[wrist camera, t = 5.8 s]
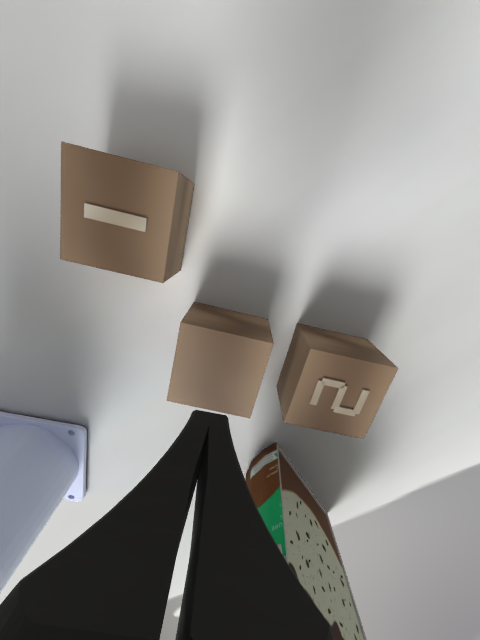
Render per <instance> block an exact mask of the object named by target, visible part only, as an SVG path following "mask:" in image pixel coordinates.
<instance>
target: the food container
mask: <svg viewBox="0 0 480 640" xmlns="http://www.w3.org/2000/svg"><path fill="white" fill-rule="evenodd" d="M246 484H247V486H248V489H249V491H250V493H251V496H252V498H253V500H254V502H255V504H256V506H257V509H258V511H259V513H260V515H261V517H262V519H263V521H264V523H265V525H266V527H267V528H268V530H269V532H270V534H271V535H272V537H273V539H274V541H275V542H276V544H277V546H278V548H279V549H280V551H281V553H282V555H283V556H284V558H285V560H286V561H287V563H288V565H289V566H290V568H291V569H292V571H293V572H294V574H295V575H296V577H297V579H298V580H299V582H300V583H301V585H302V586H303V588H304V589H305V591H306V592H307V594H308V595H309V597H310V598H311V599H312V601H313V602H314V604H315V605H316V607H317V608H318V609H319V611H320V612H321V614H322V615H323V616H324V618H325V619H326V620H327V622H328V623H329V625H330V627H331V630H332V633H333V636H334V639H335V640H366V637H365V633H364V630H363V627H362V623H361V621H360V617H359V614H358V611H357V608H356V604H355V601H354V598H353V595H352V592H351V588H350V585H349V582H348V578H347V575H346V572H345V569H344V565H343V562H342V559H341V556H340V553H339V549H338V546H337V543H336V540H335V537H334V534H333V531H332V527H331V524H330V520H329V517H328V514H327V512H326V511H325V510H324V508H323V507H322V505H321V504H320V503H319V501H318V500H317V498H316V497H315V496H314V494H313V493H312V491H311V490H310V489H309V487H308V486H307V484H306V483H305V482H304V480H303V479H302V477H301V476H300V475H299V473H298V472H297V470H296V469H295V468H294V466H293V465H292V463H291V462H290V461H289V459H288V458H287V456H286V455H285V454H284V452H283V451H282V449H281V448H280V447H279V445H278V444H277V442H276V443H274V444H273V445H271V446H269V447H267V448H265V449H264V450H263V451H262V452H261V453H260V454H259V455H258V456H257V457H256V458H255V459H254V460H253V461H252V463H251V465H250V467H249V469H248V471H247V473H246Z"/></svg>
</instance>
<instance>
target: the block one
mask: <svg viewBox="0 0 480 640" xmlns="http://www.w3.org/2000/svg"><path fill="white" fill-rule="evenodd" d="M193 190H194V184H193V183H192V182H191V181H190V180H188V179H187V178H186V177H185V176H183V175H182V174H181V173H179V172H177V171H174V170H170V169H166V168H162V167H158V166H154V165H150V164H146V163H143V162H139V161H135V160H131V159H127V158H123V157H119V156H116V155H112V154H108V153H104V152H100V151H96V150H92V149H89V148H85V147H81V146H77V145H73V144H69V143H65V142H61V237H60V259H62V260H66V261H71V262H75V263H79V264H84V265H88V266H92V267H96V268H101V269H105V270H109V271H114V272H118V273H122V274H127V275H131V276H135V277H139V278H144V279H148V280H152V281H157V282H161V283H164V282H165V281H166V280H168V279H169V278H171V277H172V276H173V275H175V274H176V273H178V272H179V271H180V270H181V265H182V259H183V252H184V246H185V240H186V234H187V227H188V221H189V215H190V209H191V203H192V196H193Z"/></svg>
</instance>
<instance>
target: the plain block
mask: <svg viewBox="0 0 480 640" xmlns="http://www.w3.org/2000/svg"><path fill="white" fill-rule="evenodd" d="M272 347H273V339H272V335H271V331H270V327H269V322H268V319H264V318H260V317H256V316H251V315H247V314H243V313H239V312H234V311H230V310H226V309H222V308H217V307H213V306H209V305H205V304H200V303H196V302H194V303H193V304H192V306H191V307H190V309H189V310H188V312H187V313H186V315H185V316H184V318H183V320H182V321H181V323H180V329H179V334H178V340H177V346H176V351H175V357H174V363H173V368H172V374H171V379H170V385H169V391H168V396H167V401H170V402H175V403H180V404H184V405H189V406H194V407H199V408H203V409H208V410H213V411H218V412H222V413H227V414H232V415H236V416H241V417H246V418H250V417H251V414H252V411H253V408H254V404H255V401H256V398H257V395H258V392H259V388H260V385H261V382H262V379H263V376H264V372H265V369H266V366H267V363H268V360H269V356H270V353H271V350H272Z"/></svg>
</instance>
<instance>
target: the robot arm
mask: <svg viewBox="0 0 480 640" xmlns="http://www.w3.org/2000/svg"><path fill="white" fill-rule="evenodd" d="M73 431H74V432H73ZM86 449H87V430H86V429H85V427H83V426H80V425H74V424H68V423H63V422H57V421H51V420H46V419H40V418H34V417H29V416H23V415H17V414H12V413H6V412H0V593H1V591H2V590H3V588H4V587H5V585H6V584H7V582H8V580H9V579H10V577H11V576H12V574H13V573H14V571H15V570H16V568H17V567H18V565H19V564H20V562H21V561H22V559H23V558H24V556H25V555H26V553H27V552H28V550H29V549H30V547H31V546H32V544H33V543H34V541H35V540H36V538H37V537H38V535H39V534H40V532H41V531H42V529H43V528H44V526H45V525H46V523H47V522H48V520H49V519H50V517H51V516H52V514H53V513H54V511H55V510H56V508H57V507H58V505H59V504H60V502H61V501H62V499H63V500H70V501H76V502H80V501H82V500H83V499H84V497H85V495H86ZM197 479H198V480H197ZM196 483H197V490H196V500H195V511H194V521H193V531H192V541H191V550H190V558H189V564H188V570H187V576H186V582H185V588H184V594H183V599H182V605H181V611H180V617H179V623H178V629H177V634H176V640H335V639H334V636H333V633H332V630H331V627H330V625H329V623H328V622H327V620H326V619H325V618H324V616H323V615H322V614H321V612H320V611H319V609H318V608H317V607H316V605H315V604H314V602H313V601H312V599H311V598H310V597H309V595H308V594H307V592H306V591H305V589H304V588H303V586H302V585H301V583H300V582H299V580H298V579H297V577H296V575H295V574H294V572H293V571H292V569H291V568H290V566H289V565H288V563H287V561H286V560H285V558H284V556H283V555H282V553H281V551H280V549H279V548H278V546H277V544H276V542H275V541H274V539H273V537H272V535H271V534H270V532H269V530H268V528H267V527H266V525H265V523H264V521H263V519H262V517H261V515H260V513H259V511H258V509H257V506H256V504H255V502H254V500H253V498H252V496H251V493H250V491H249V489H248V486H247V484H246V481H245V478H244V476H243V473H242V471H241V468H240V465H239V462H238V459H237V455H236V452H235V449H234V446H233V442H232V438H231V433H230V429H229V422H228V417H227V416H226V415H221V414H215V413H210V412H204V411H199V410H195V411H193V412H192V414H191V417H190V418H189V420H188V422H187V424H186V425H185V427H184V429H183V430H182V432H181V433H180V435H179V436H178V437H177V439H176V440H175V441H174V443H173V444H172V445H171V447H170V448H169V449H168V451H167V452H166V453H165V454H164V456H163V457H162V458H161V459H160V460H159V461H158V463H157V464H156V465H155V466H154V467H153V469H152V470H151V471H150V472H149V473H148V474H147V475H146V476H145V477H144V478H143V479H142V480H141V481H140V482H139V483H138V484H137V486H136V487H135V488H134V489H133V490H132V491H130V492H129V493H128V494H127V495H126V496H125V497H124V498H123V499H122V500H121V501H120V502H119V503H118V504H117V505H116V506H115V507H113V508H112V509H111V510H110V511H109V512H108V513H107V514H106V515H104V516H103V517H102V518H101V519H100V520H98V521H97V522H96V523H95V524H94V525H92V526H91V527H90V528H89V529H88V530H86V531H85V532H84V533H83V534H81V535H80V536H79V537H78V538H77V539H75V540H74V541H73V542H72V543H70V544H69V545H68V546H66V547H65V548H64V549H62V550H61V551H60V552H58V553H57V554H56V555H54V556H53V557H51V558H50V559H49V560H47V561H46V562H45V563H43V564H42V565H41V566H39V567H38V568H36V569H35V570H34V571H32V572H31V573H30V574H28V575H27V576H25V577H24V578H23V579H22V580H20V582H19V583H18V584H17V585H16V586H15V587H14V589H13V590H12V591H11V592H10V593H9V595H8V596H7V597H6V598H5V600H4V601H3V602H2V603H1V605H0V640H159V639H160V633H161V628H162V624H163V619H164V614H165V609H166V604H167V600H168V595H169V590H170V585H171V580H172V575H173V570H174V565H175V560H176V556H177V552H178V548H179V544H180V540H181V537H182V533H183V529H184V526H185V522H186V519H187V515H188V511H189V508H190V504H191V501H192V497H193V493H194V490H195V486H196Z"/></svg>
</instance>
